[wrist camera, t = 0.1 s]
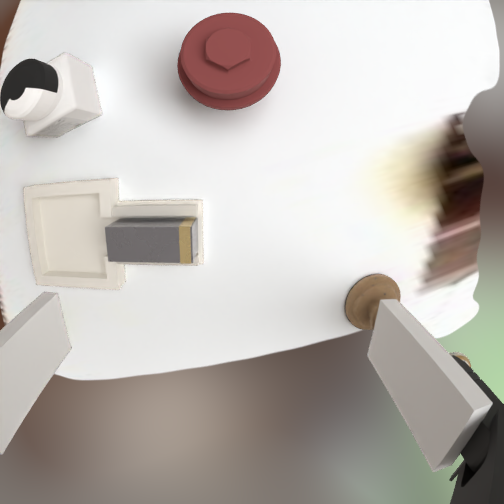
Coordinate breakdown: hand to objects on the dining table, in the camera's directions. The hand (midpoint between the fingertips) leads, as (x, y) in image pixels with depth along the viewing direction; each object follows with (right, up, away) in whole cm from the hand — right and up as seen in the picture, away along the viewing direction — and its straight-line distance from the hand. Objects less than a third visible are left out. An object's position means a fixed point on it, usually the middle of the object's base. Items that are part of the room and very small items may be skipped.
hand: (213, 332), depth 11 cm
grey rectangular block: (-10, +5, +26) cm, 28 cm away
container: (-22, +23, +21) cm, 38 cm away
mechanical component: (-1, +24, +22) cm, 32 cm away
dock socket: (-17, +6, +27) cm, 32 cm away
